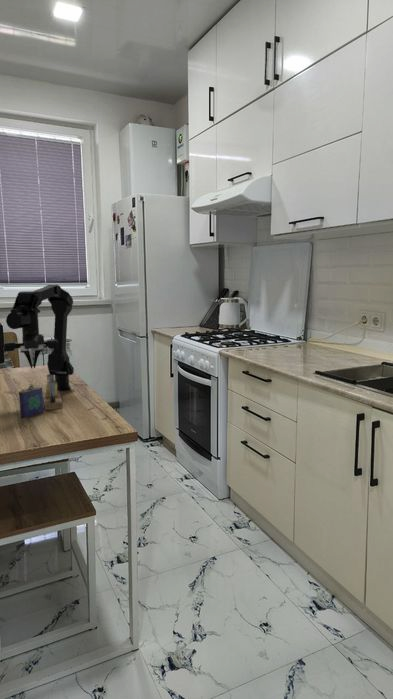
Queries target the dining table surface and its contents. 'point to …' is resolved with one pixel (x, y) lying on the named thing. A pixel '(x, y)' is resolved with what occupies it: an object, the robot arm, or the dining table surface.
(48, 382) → the light wooden cube
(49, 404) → the plane body
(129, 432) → the dining table surface
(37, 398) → the flask
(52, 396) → the lever
